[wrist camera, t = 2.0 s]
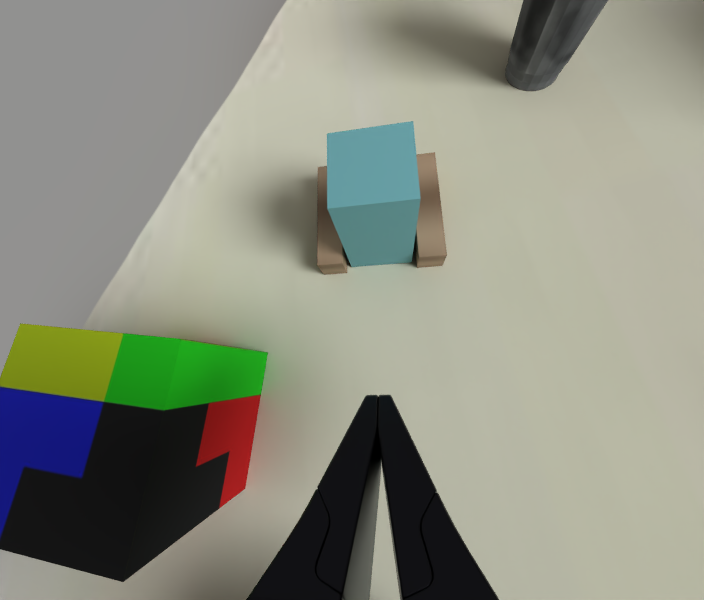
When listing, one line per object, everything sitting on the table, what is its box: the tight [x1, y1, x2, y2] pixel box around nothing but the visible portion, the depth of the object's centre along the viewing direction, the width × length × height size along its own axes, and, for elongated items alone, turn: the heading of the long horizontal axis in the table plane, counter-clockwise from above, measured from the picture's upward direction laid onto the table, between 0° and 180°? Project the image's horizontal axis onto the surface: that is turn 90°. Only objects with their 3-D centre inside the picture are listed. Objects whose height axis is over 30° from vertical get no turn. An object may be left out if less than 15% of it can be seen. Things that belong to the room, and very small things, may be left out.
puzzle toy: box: [0, 324, 268, 582], centre depth 19 cm, size 10×10×10 cm
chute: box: [317, 152, 447, 275], centre depth 24 cm, size 9×10×2 cm
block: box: [327, 121, 421, 267], centre depth 20 cm, size 5×5×9 cm
